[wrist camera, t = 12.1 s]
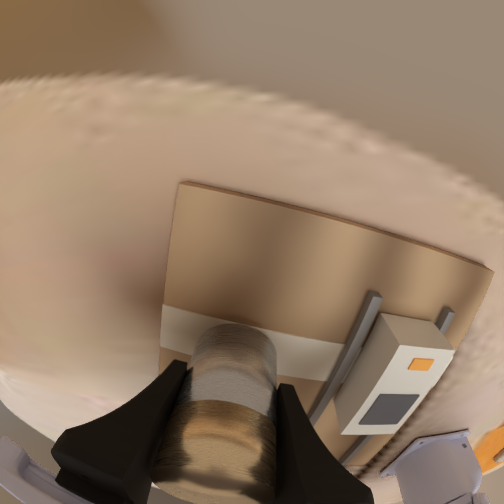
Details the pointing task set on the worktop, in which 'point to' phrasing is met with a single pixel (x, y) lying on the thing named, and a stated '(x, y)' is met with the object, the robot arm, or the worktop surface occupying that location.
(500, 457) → the washcloth
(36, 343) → the worktop surface
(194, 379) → the marbled round peg
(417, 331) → the block
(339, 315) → the board
